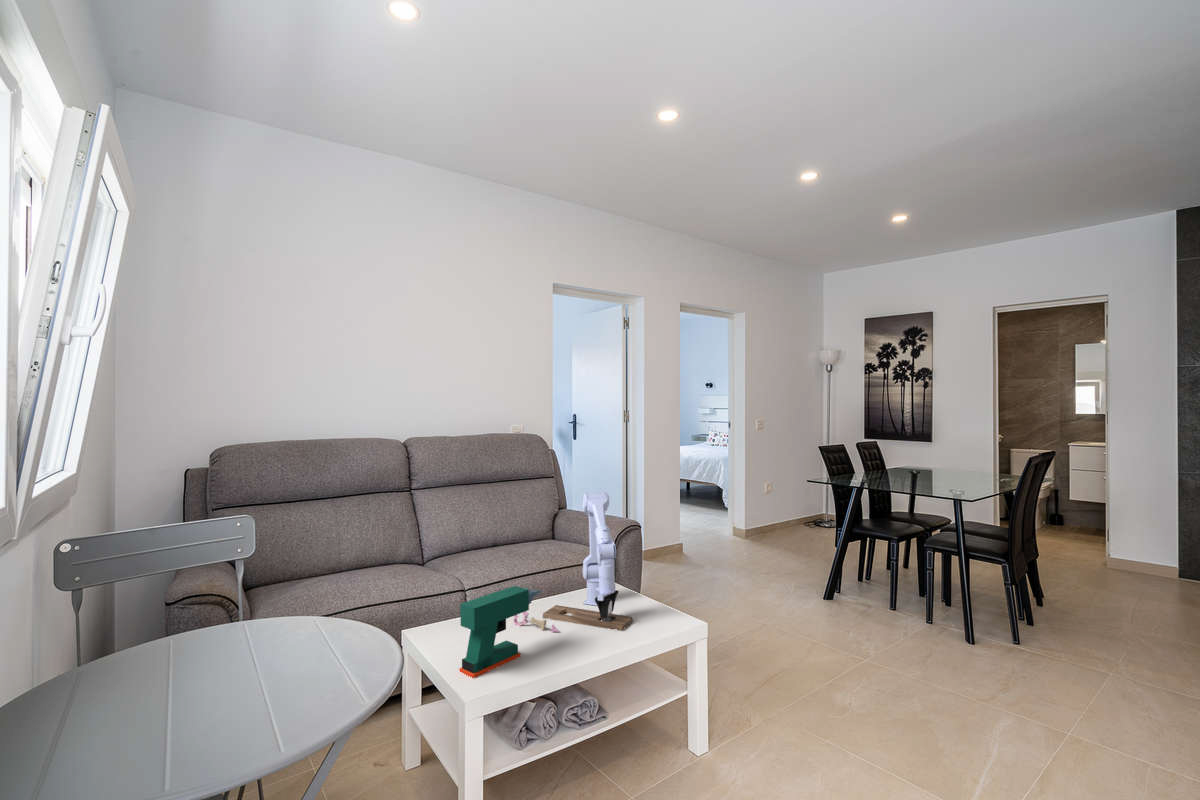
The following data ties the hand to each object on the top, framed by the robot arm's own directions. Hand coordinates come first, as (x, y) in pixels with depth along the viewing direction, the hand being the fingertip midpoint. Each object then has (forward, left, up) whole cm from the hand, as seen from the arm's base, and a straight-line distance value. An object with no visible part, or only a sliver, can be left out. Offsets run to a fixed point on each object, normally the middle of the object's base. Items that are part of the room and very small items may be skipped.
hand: (607, 614), depth 207 cm
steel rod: (0, 0, -3) cm, 3 cm away
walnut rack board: (0, -8, -3) cm, 9 cm away
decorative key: (+15, -21, -3) cm, 26 cm away
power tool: (+38, -17, -3) cm, 42 cm away
